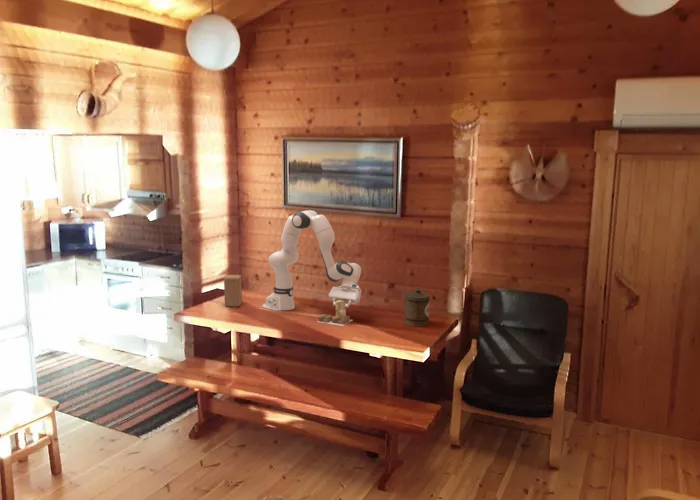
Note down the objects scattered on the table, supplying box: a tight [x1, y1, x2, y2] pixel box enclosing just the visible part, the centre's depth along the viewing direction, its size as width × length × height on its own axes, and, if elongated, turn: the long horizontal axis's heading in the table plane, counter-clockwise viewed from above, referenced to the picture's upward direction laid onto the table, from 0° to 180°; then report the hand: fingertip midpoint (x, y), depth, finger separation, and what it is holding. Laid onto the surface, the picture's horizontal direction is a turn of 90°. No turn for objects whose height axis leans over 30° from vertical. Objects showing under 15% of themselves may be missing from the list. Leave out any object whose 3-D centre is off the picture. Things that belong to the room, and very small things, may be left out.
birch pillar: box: [335, 300, 347, 318], centre depth 362 cm, size 4×4×10 cm
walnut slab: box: [332, 315, 351, 325], centre depth 363 cm, size 8×8×3 cm
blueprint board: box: [316, 319, 354, 327], centre depth 365 cm, size 18×14×1 cm
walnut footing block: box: [318, 313, 333, 323], centre depth 365 cm, size 6×6×3 cm
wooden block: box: [223, 274, 243, 308], centre depth 402 cm, size 10×10×20 cm
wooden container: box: [404, 287, 431, 327], centre depth 364 cm, size 15×15×22 cm
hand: (340, 306), depth 361 cm, fingers open, 7 cm apart
